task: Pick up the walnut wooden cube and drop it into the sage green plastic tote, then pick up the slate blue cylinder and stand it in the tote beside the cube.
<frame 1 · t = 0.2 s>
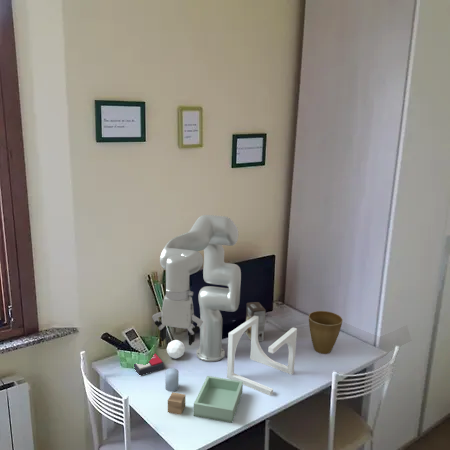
hand: (177, 341, 157), 30 cm above the table, tool pointing down, fingers open, 9 cm apart
geometric ball: (175, 357, 204), on the table
tote: (218, 404, 173), on the table
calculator: (144, 364, 198), on the table
coffee box: (254, 337, 223), on the table
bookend: (260, 375, 192), on the table
cube: (176, 409, 169), on the table
cylinder: (172, 387, 182), on the table
plant pot: (322, 350, 213), on the table
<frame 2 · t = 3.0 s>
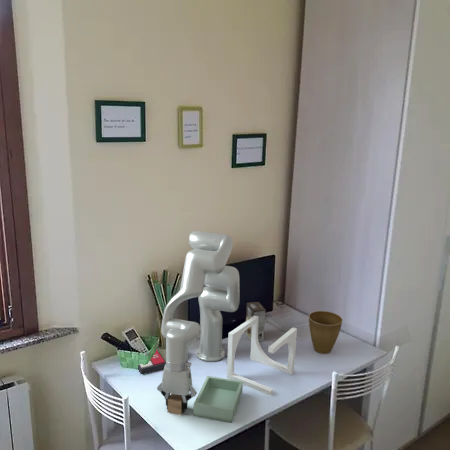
hand: (176, 408, 169), 0 cm above the table, tool pointing down, fingers closed on cube, 4 cm apart
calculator: (147, 364, 199), on the table
cube: (176, 409, 169), on the table, touching gripper
everything else where it was.
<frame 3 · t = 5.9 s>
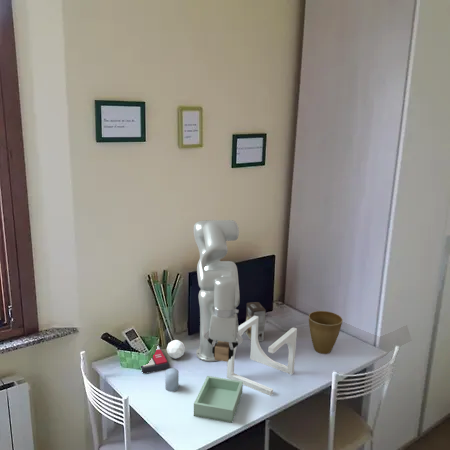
hand: (222, 355, 173), 17 cm above the table, tool pointing down, fingers closed on cube, 4 cm apart
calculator: (151, 363, 200), on the table
cube: (222, 357, 173), point 17 cm above the table, touching gripper
everything else where it was.
when the fingers open (4 cm above the table, at t = 8.7 s): cube drops 3 cm, resting on tote.
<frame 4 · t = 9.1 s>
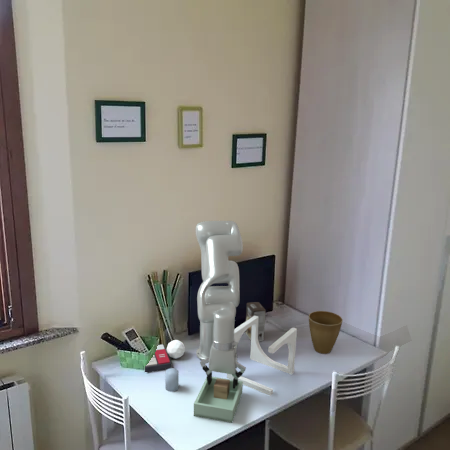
hand: (222, 384, 176), 5 cm above the table, tool pointing down, fingers open, 9 cm apart
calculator: (154, 362, 200), on the table
cube: (221, 394, 177), point 1 cm above the table, touching tote
everything else where it was.
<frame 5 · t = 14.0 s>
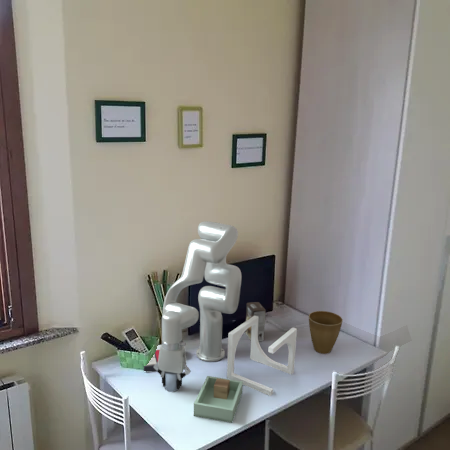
hand: (171, 385, 182), 1 cm above the table, tool pointing down, fingers closed on cylinder, 4 cm apart
cylinder: (171, 387, 182), on the table, touching gripper
everything else where it was.
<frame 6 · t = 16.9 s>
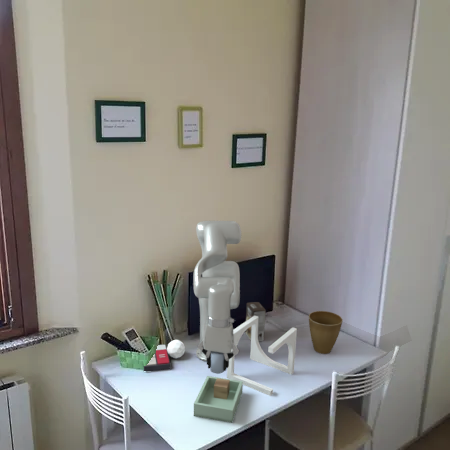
hand: (217, 367, 165), 17 cm above the table, tool pointing down, fingers closed on cylinder, 4 cm apart
cylinder: (217, 369, 165), point 16 cm above the table, touching gripper
everything else where it was.
when the fingers open (4 cm above the table, at t = 19.8 s): cylinder drops 2 cm, resting on tote.
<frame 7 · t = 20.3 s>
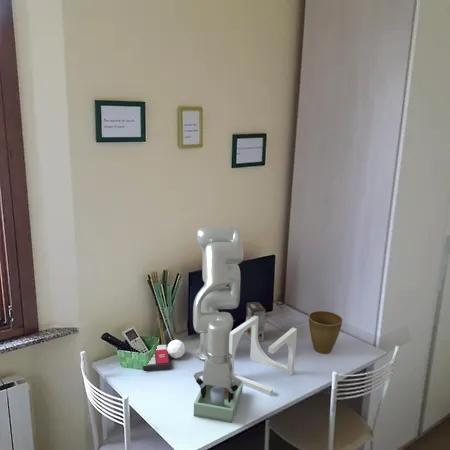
hand: (216, 398, 168), 5 cm above the table, tool pointing down, fingers open, 9 cm apart
cylinder: (217, 407, 169), point 1 cm above the table, touching tote
everything else where it was.
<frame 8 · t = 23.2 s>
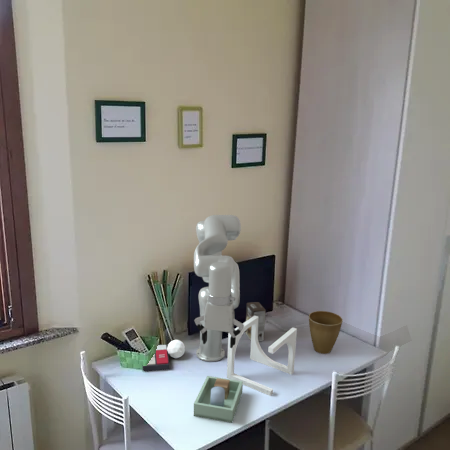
hand: (218, 344, 163), 26 cm above the table, tool pointing down, fingers open, 9 cm apart
nothing on the table moved.
at the end: cube inside the target area on the tote (4.5 cm from its centre), point 1.0 cm above the tote's base; cylinder inside the target area on the tote (3.5 cm from its centre), point 1.1 cm above the tote's base; cylinder tilted 2° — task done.
